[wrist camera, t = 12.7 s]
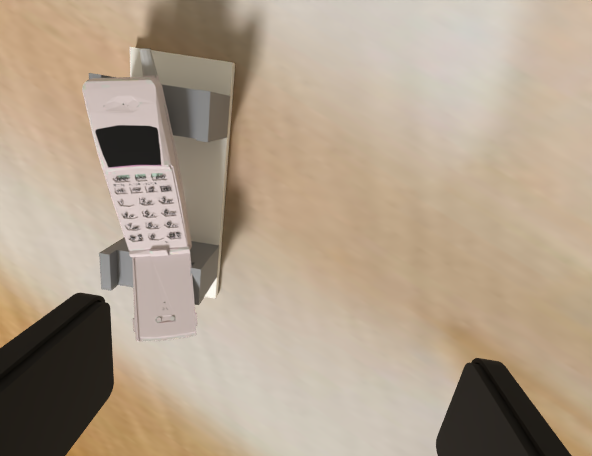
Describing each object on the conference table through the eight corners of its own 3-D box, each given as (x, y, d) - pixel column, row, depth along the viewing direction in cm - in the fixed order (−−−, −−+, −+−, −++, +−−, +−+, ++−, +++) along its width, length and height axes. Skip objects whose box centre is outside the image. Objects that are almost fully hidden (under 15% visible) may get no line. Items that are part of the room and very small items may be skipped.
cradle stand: (135, 48, 32) (86, 30, 26) (235, 63, 32) (212, 49, 25) (138, 281, 41) (102, 314, 34) (217, 294, 41) (197, 330, 34)
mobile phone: (135, 345, 32) (37, 47, 20) (152, 304, 37) (82, 50, 25) (199, 339, 32) (139, 46, 21) (207, 299, 37) (162, 48, 26)
